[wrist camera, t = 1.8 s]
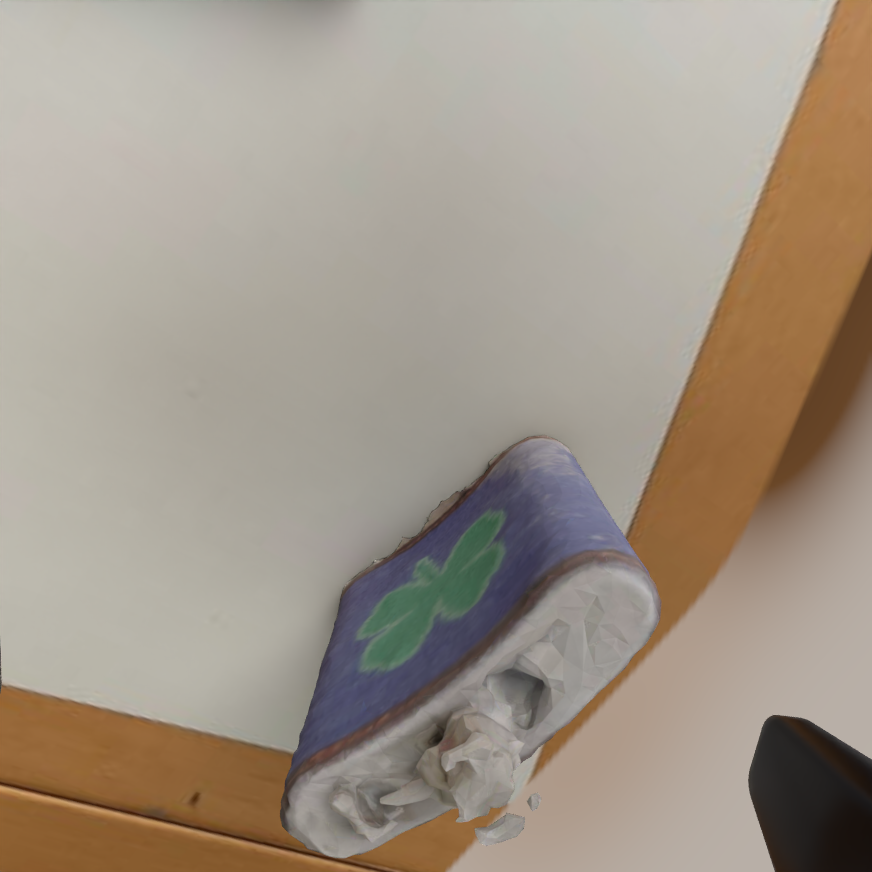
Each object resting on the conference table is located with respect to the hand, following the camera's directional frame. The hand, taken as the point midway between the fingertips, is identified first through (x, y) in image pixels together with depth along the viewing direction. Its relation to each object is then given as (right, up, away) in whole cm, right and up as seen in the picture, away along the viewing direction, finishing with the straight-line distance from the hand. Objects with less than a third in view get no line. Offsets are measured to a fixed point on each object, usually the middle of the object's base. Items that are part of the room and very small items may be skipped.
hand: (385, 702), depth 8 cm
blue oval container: (+1, 0, +14) cm, 14 cm away
